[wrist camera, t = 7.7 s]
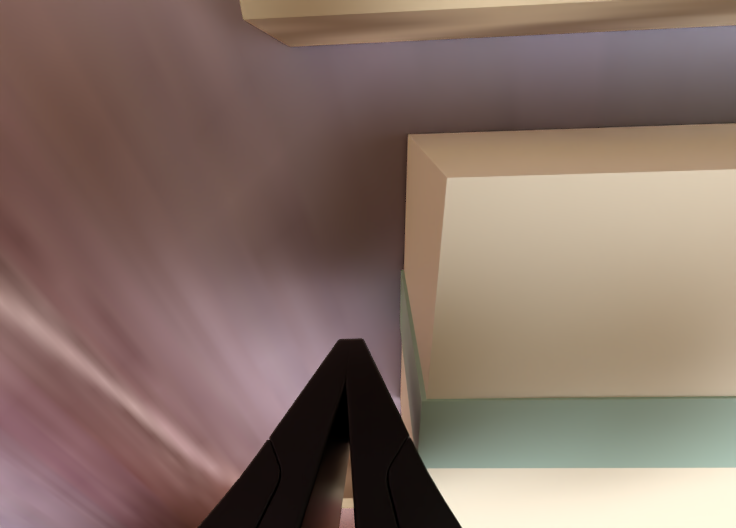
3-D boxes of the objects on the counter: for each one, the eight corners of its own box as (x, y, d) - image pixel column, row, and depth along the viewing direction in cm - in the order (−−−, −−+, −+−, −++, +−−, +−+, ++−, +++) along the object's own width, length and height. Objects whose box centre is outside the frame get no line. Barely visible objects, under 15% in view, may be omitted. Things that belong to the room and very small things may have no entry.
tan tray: (341, 436, 15) (334, 508, 12) (283, 4, 7) (229, -51, 4) (648, 433, 15) (708, 507, 12) (966, -33, 7) (1365, -118, 4)
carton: (398, 398, 14) (409, 546, 9) (404, 134, 8) (439, 178, 4) (653, 396, 13) (794, 548, 9) (830, 120, 8) (1409, 150, 4)
